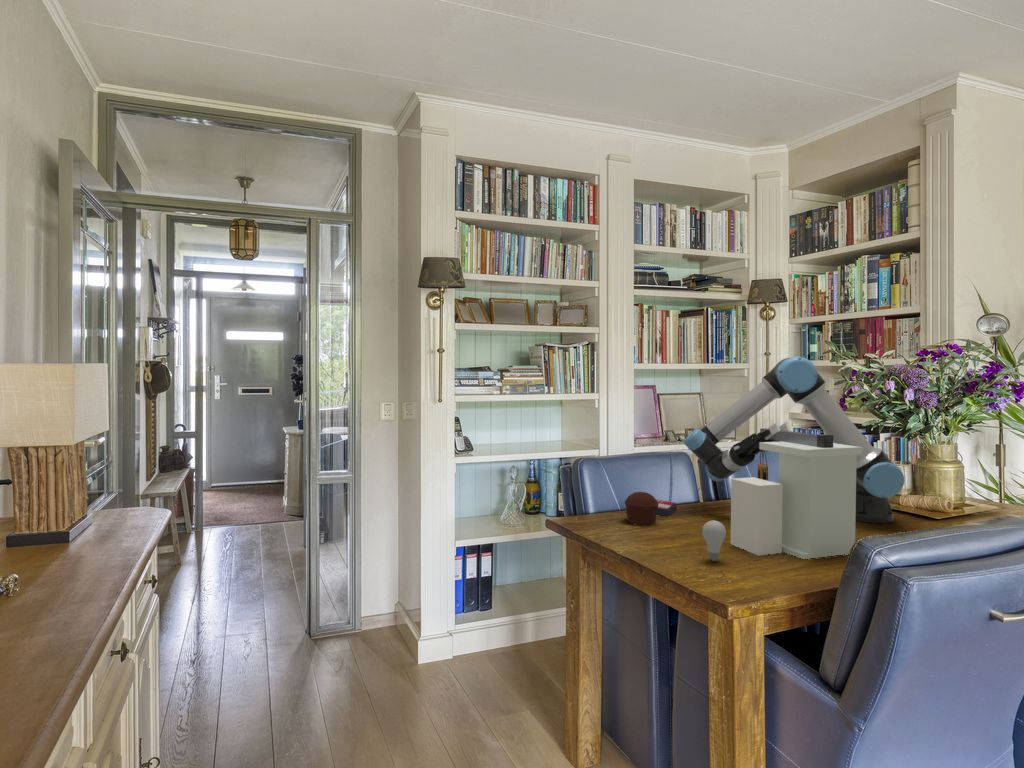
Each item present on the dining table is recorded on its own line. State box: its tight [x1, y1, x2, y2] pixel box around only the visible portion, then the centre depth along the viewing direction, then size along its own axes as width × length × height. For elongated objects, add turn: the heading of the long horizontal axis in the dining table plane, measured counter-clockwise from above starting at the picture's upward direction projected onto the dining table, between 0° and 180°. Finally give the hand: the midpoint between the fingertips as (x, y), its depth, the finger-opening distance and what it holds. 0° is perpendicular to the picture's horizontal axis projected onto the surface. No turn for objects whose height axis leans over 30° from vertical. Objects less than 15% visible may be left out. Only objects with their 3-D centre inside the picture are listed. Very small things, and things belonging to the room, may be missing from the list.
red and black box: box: [656, 499, 678, 518], centre depth 231 cm, size 11×4×15 cm
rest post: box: [730, 476, 783, 557], centre depth 184 cm, size 12×8×20 cm, turn 18°
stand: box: [759, 441, 862, 560], centre depth 184 cm, size 18×20×30 cm
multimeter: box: [757, 450, 769, 481], centre depth 257 cm, size 15×10×20 cm
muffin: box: [624, 491, 659, 526], centre depth 215 cm, size 12×11×10 cm
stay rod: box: [759, 427, 833, 448], centre depth 190 cm, size 26×3×3 cm, turn 18°
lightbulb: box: [701, 519, 727, 562], centre depth 172 cm, size 6×6×11 cm
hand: (782, 426), depth 194 cm, fingers closed on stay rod, 3 cm apart
